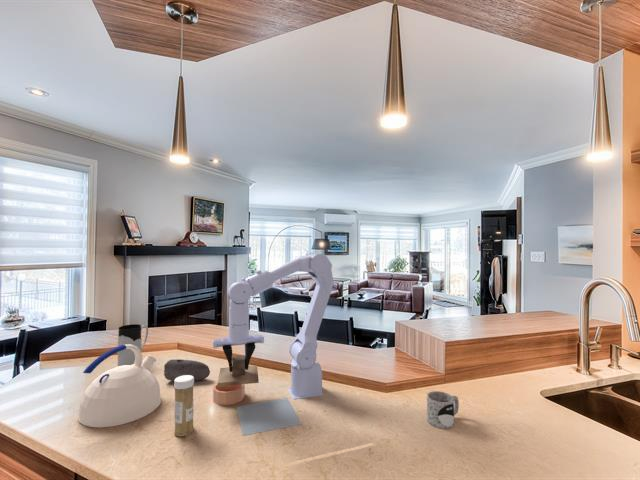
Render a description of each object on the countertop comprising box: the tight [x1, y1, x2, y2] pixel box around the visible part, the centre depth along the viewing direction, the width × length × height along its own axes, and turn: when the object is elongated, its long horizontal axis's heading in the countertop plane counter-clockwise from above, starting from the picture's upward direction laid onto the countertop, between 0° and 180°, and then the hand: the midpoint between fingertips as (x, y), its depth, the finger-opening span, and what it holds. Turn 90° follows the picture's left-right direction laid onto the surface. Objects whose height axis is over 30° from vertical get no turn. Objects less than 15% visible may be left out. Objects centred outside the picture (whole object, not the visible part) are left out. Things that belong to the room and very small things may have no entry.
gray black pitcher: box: [116, 324, 149, 367], centre depth 128 cm, size 9×14×15 cm, turn 171°
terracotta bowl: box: [212, 382, 246, 406], centre depth 99 cm, size 9×9×4 cm
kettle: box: [77, 344, 162, 429], centre depth 94 cm, size 20×21×18 cm
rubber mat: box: [236, 397, 303, 436], centre depth 89 cm, size 15×15×1 cm
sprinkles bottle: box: [173, 375, 195, 438], centre depth 82 cm, size 5×5×14 cm
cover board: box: [217, 355, 260, 387], centre depth 96 cm, size 11×11×6 cm
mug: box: [426, 390, 460, 430], centre depth 87 cm, size 10×7×7 cm, turn 117°
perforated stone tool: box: [163, 358, 211, 382], centre depth 113 cm, size 15×5×7 cm, turn 90°
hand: (238, 369), depth 96 cm, fingers closed on cover board, 4 cm apart
